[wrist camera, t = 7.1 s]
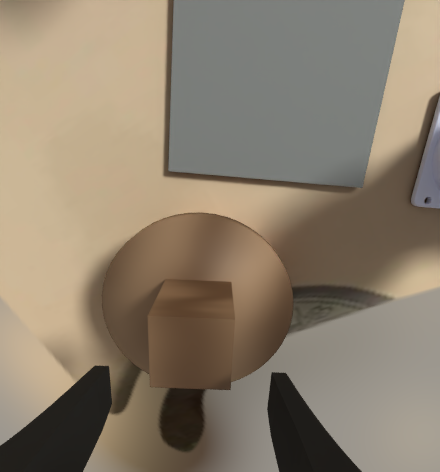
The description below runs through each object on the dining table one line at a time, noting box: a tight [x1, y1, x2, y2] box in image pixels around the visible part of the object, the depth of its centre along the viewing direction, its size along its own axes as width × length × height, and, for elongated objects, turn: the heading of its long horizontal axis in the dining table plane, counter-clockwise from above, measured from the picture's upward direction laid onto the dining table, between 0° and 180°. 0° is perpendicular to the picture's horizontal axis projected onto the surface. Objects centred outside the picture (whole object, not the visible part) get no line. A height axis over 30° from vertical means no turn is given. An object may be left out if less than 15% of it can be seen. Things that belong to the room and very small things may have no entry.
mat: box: [168, 0, 405, 188], centre depth 17 cm, size 14×14×1 cm
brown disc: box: [102, 213, 293, 390], centre depth 15 cm, size 12×12×5 cm
